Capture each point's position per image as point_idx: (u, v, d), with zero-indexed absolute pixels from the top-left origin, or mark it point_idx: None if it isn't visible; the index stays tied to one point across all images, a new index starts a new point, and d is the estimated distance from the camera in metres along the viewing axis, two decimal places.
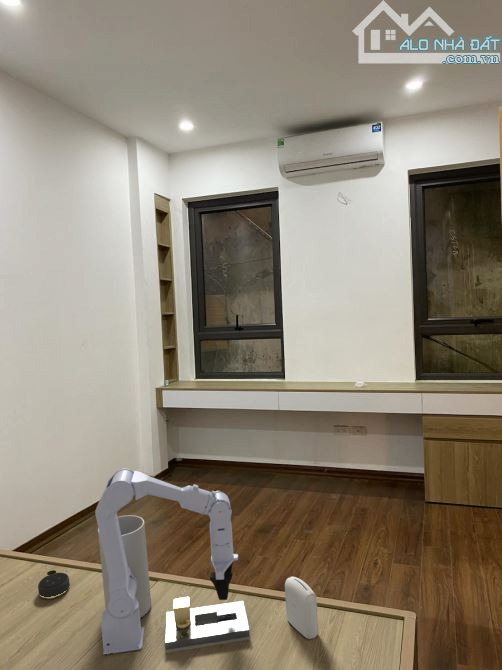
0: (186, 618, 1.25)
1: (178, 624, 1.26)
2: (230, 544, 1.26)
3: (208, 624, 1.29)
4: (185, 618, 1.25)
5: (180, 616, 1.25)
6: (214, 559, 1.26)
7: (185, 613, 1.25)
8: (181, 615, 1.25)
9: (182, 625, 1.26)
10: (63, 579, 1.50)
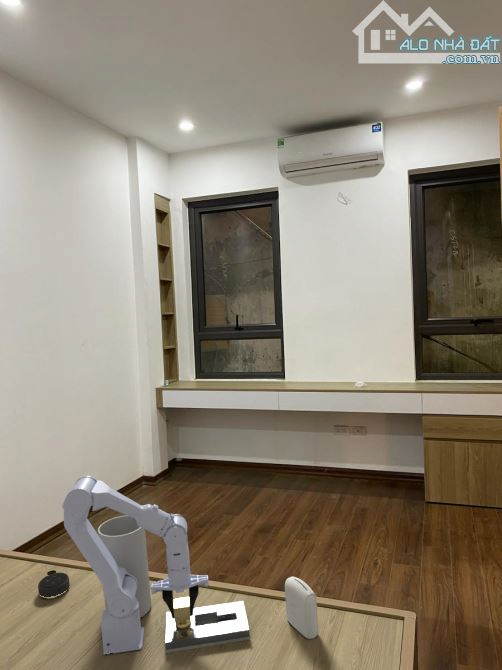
0: (186, 618, 1.25)
1: (178, 624, 1.26)
2: (172, 572, 1.23)
3: (208, 624, 1.29)
4: (185, 618, 1.25)
5: (180, 616, 1.25)
6: None
7: (185, 613, 1.25)
8: (181, 615, 1.25)
9: (182, 625, 1.26)
10: (63, 579, 1.50)
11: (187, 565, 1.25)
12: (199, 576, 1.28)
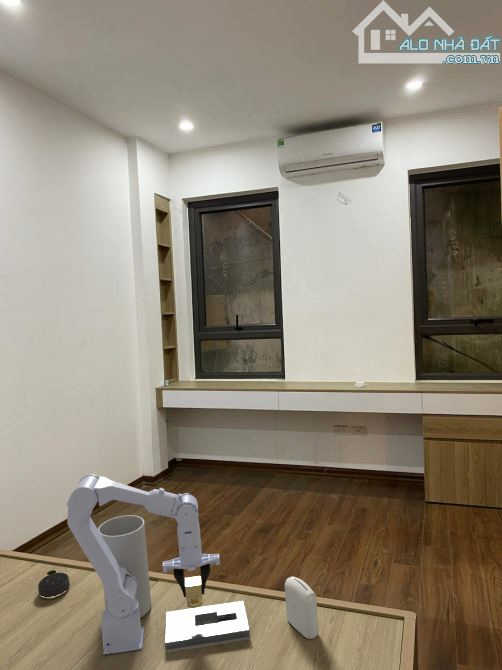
0: (198, 597, 1.25)
1: (190, 603, 1.26)
2: (184, 550, 1.23)
3: (208, 624, 1.29)
4: (196, 597, 1.25)
5: (192, 595, 1.25)
6: None
7: (197, 592, 1.25)
8: (193, 594, 1.25)
9: (194, 604, 1.26)
10: (63, 579, 1.50)
11: (198, 543, 1.25)
12: (210, 555, 1.28)
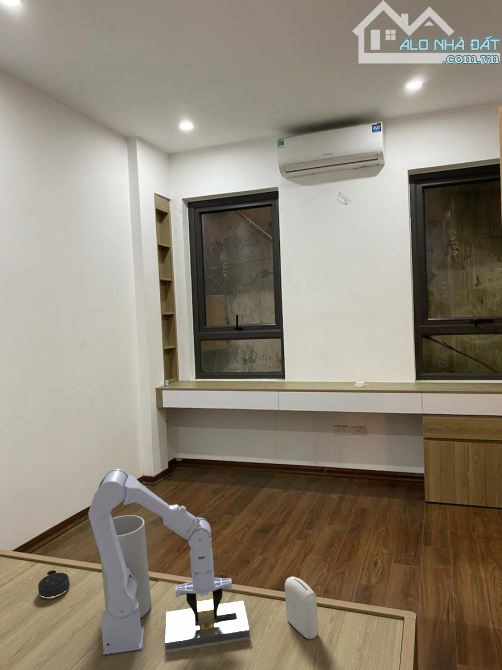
0: (210, 621, 1.26)
1: (202, 627, 1.27)
2: (197, 575, 1.24)
3: None
4: (209, 621, 1.26)
5: (204, 619, 1.26)
6: None
7: (209, 616, 1.26)
8: (205, 618, 1.26)
9: None
10: (63, 579, 1.50)
11: (211, 568, 1.26)
12: (222, 579, 1.29)
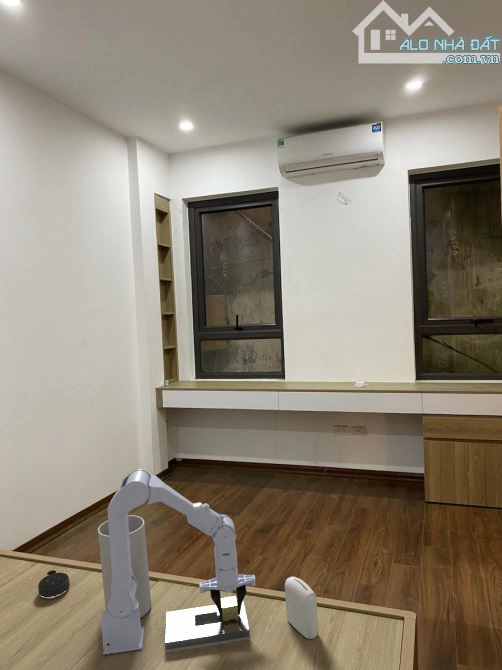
0: (234, 617, 1.27)
1: None
2: (221, 572, 1.25)
3: (208, 624, 1.29)
4: (233, 617, 1.27)
5: (228, 615, 1.27)
6: None
7: (233, 612, 1.27)
8: (229, 614, 1.27)
9: None
10: (63, 579, 1.50)
11: (235, 565, 1.26)
12: (246, 576, 1.30)
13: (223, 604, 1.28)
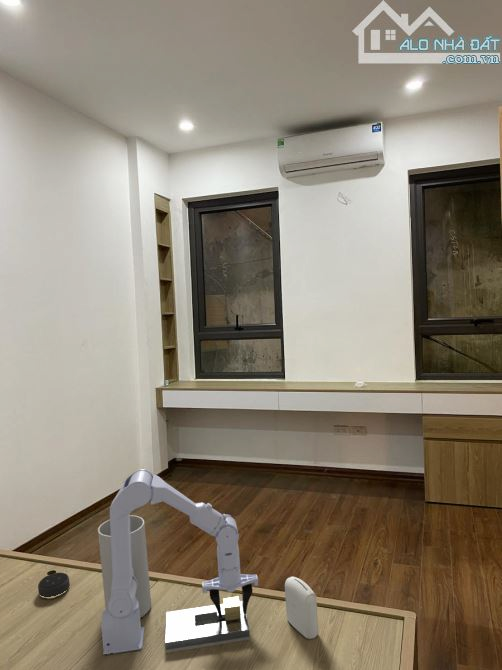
0: (236, 617, 1.27)
1: None
2: (224, 571, 1.25)
3: (208, 624, 1.29)
4: (235, 617, 1.27)
5: (231, 615, 1.27)
6: None
7: (236, 612, 1.27)
8: (232, 614, 1.27)
9: None
10: (63, 579, 1.50)
11: (238, 565, 1.26)
12: (248, 575, 1.30)
13: (226, 604, 1.28)
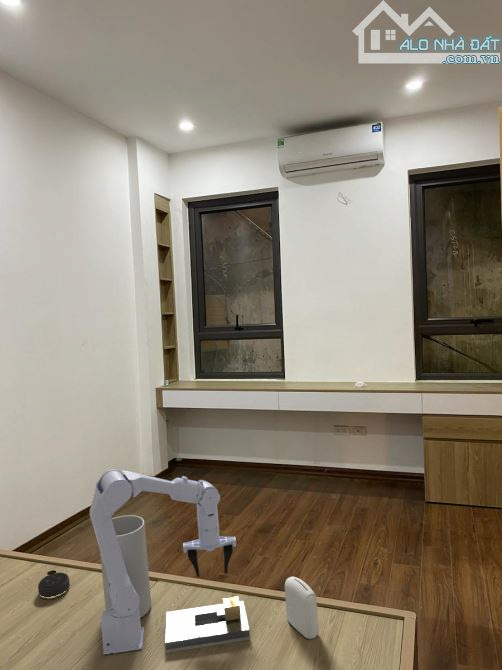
0: (236, 617, 1.27)
1: None
2: (203, 532, 1.33)
3: (208, 624, 1.29)
4: (235, 617, 1.27)
5: (231, 615, 1.27)
6: None
7: (235, 612, 1.27)
8: (232, 614, 1.27)
9: None
10: (63, 579, 1.50)
11: (218, 524, 1.35)
12: (227, 537, 1.37)
13: (225, 604, 1.28)
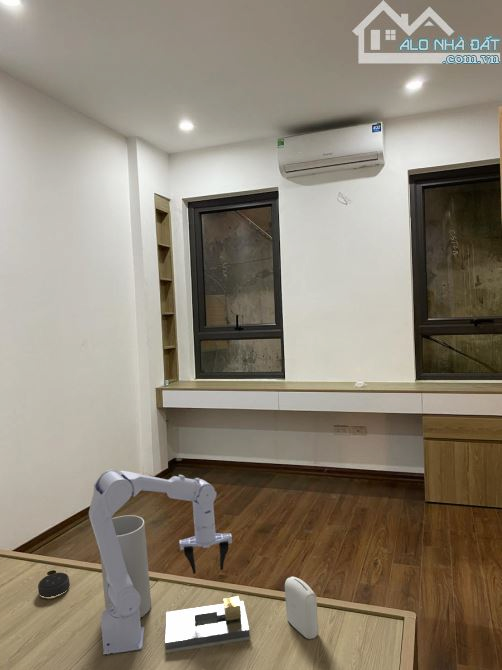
0: (237, 617, 1.27)
1: None
2: (199, 529, 1.34)
3: (208, 624, 1.29)
4: (235, 617, 1.27)
5: (231, 615, 1.27)
6: None
7: (236, 612, 1.27)
8: (232, 614, 1.27)
9: None
10: (63, 579, 1.50)
11: (214, 521, 1.37)
12: (223, 534, 1.39)
13: (226, 604, 1.28)
